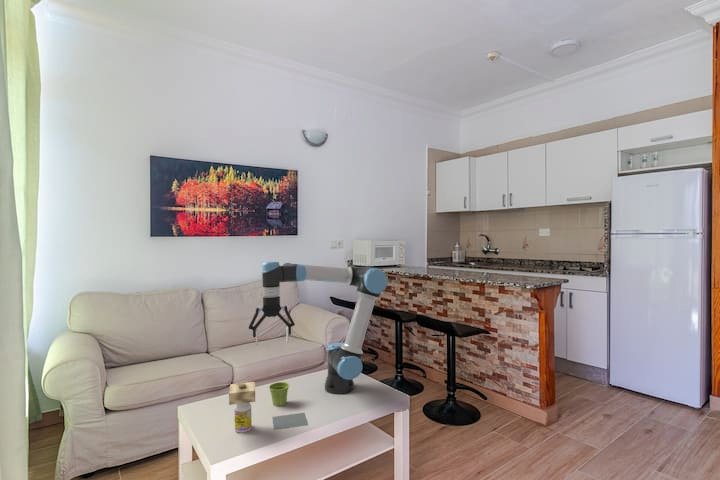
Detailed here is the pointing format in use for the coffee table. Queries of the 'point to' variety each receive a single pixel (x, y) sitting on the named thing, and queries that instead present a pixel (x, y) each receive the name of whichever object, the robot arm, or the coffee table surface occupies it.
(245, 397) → the lid
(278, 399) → the plant pot
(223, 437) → the coffee table surface
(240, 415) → the supplement bottle
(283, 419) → the mat
